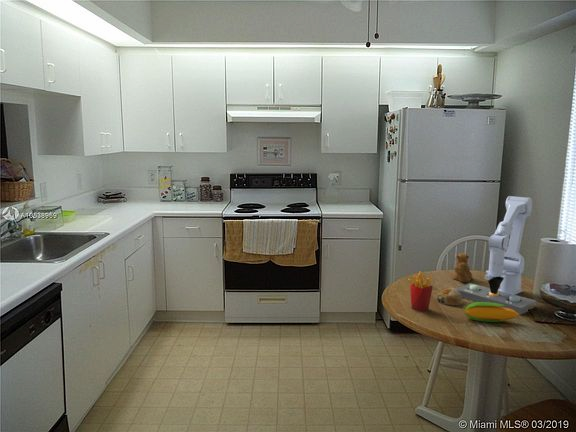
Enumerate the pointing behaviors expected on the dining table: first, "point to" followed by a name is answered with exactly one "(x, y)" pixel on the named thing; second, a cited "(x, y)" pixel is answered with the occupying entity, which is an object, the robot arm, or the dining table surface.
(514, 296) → the blue button
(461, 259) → the stuffed squirrel
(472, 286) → the green button
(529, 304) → the button console
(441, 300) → the bread roll
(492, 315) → the corn
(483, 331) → the dining table surface
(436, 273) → the dining table surface
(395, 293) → the dining table surface
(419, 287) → the french fries
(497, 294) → the orange button
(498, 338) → the dining table surface
